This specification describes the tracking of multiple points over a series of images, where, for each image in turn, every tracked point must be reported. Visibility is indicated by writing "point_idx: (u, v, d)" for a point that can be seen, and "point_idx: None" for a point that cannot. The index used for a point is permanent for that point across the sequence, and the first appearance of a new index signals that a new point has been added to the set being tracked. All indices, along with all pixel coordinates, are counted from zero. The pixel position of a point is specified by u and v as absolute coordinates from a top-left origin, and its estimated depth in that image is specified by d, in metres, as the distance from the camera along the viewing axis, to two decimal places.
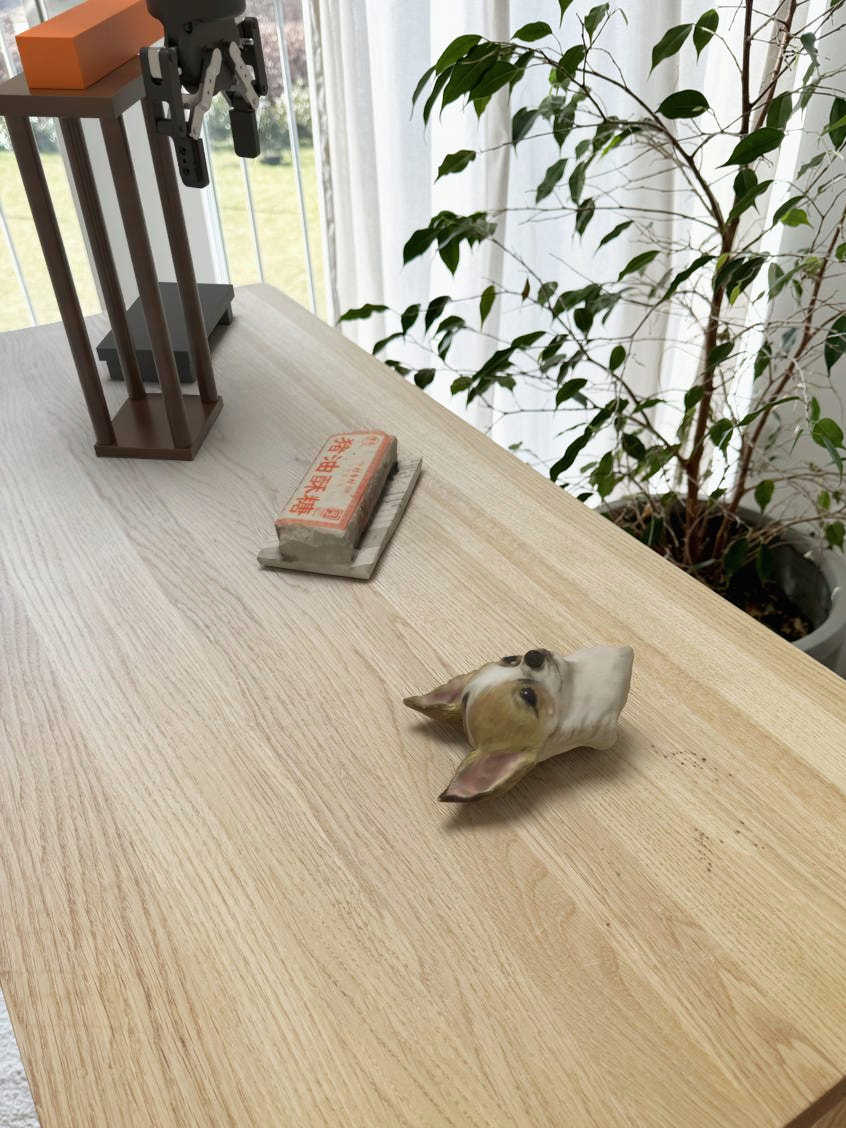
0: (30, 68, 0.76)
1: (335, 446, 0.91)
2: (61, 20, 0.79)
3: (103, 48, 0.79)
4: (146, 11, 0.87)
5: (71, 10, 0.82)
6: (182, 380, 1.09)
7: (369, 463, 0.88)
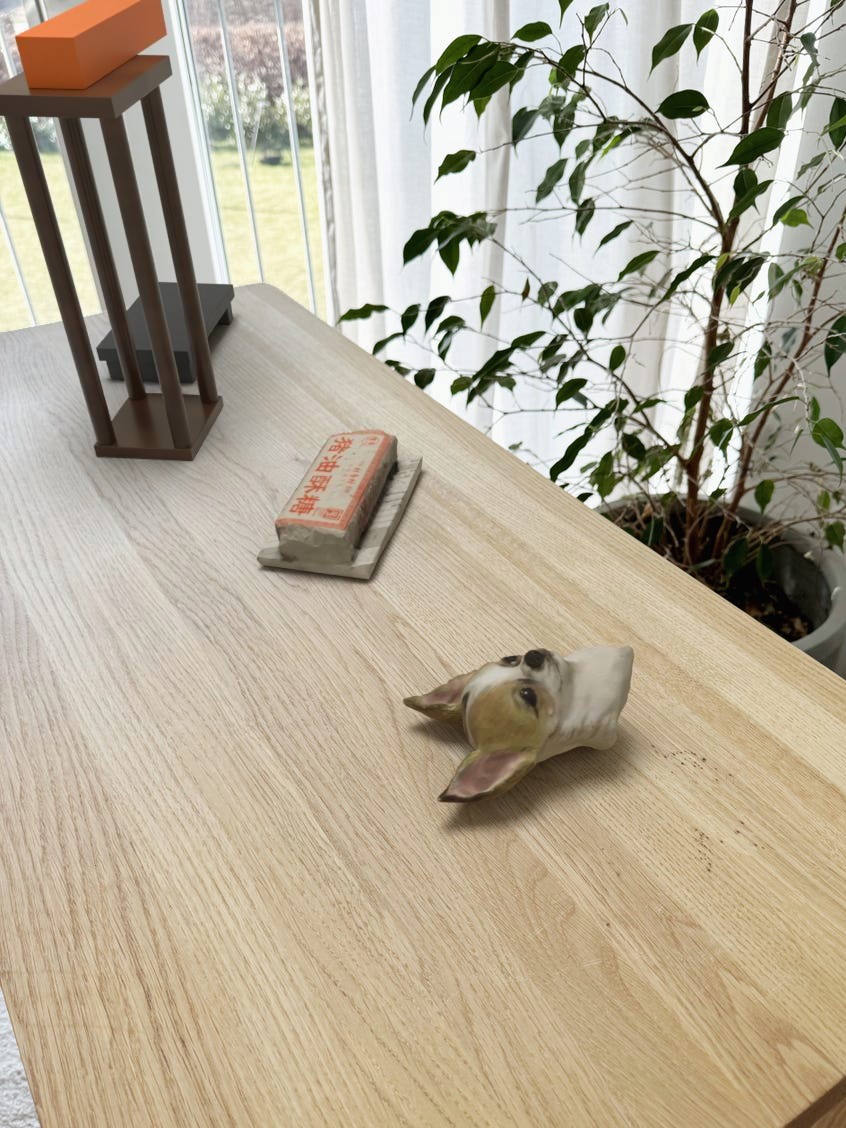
0: (30, 68, 0.76)
1: (335, 446, 0.91)
2: (61, 20, 0.79)
3: (103, 48, 0.79)
4: (146, 11, 0.87)
5: (71, 10, 0.82)
6: (182, 380, 1.09)
7: (369, 463, 0.88)
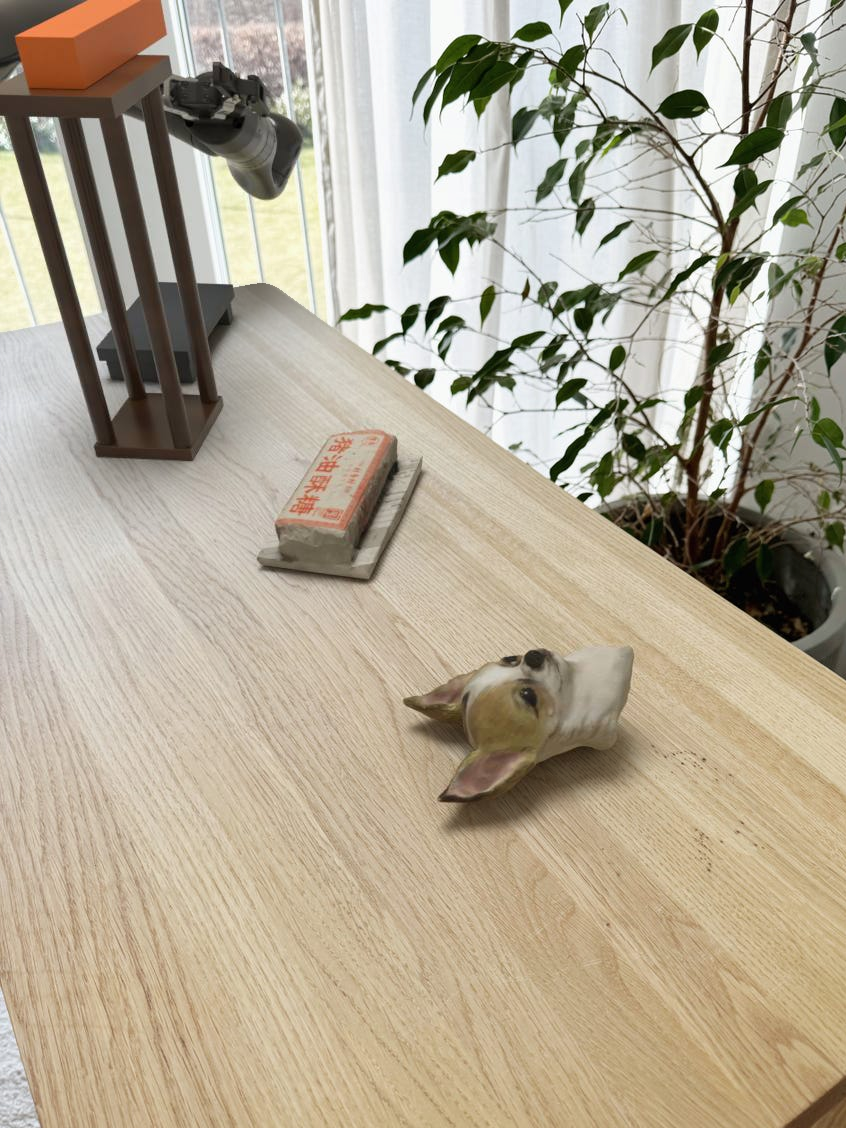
0: (30, 68, 0.76)
1: (335, 446, 0.91)
2: (61, 20, 0.79)
3: (103, 48, 0.79)
4: (146, 11, 0.87)
5: (71, 10, 0.82)
6: (182, 380, 1.09)
7: (369, 463, 0.88)
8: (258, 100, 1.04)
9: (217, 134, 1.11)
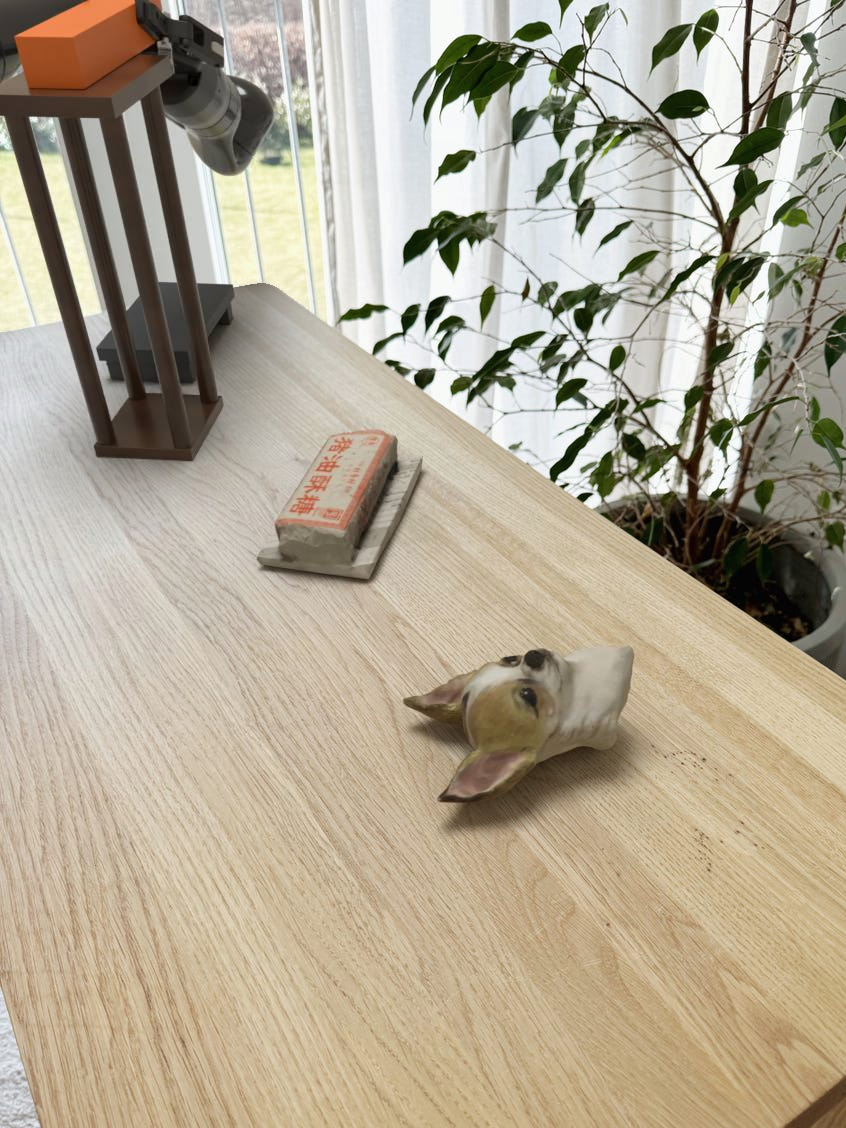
0: (30, 68, 0.76)
1: (335, 446, 0.91)
2: (61, 20, 0.79)
3: (103, 47, 0.79)
4: None
5: (71, 10, 0.82)
6: (182, 380, 1.09)
7: (369, 463, 0.88)
8: (190, 44, 0.90)
9: (170, 92, 0.98)
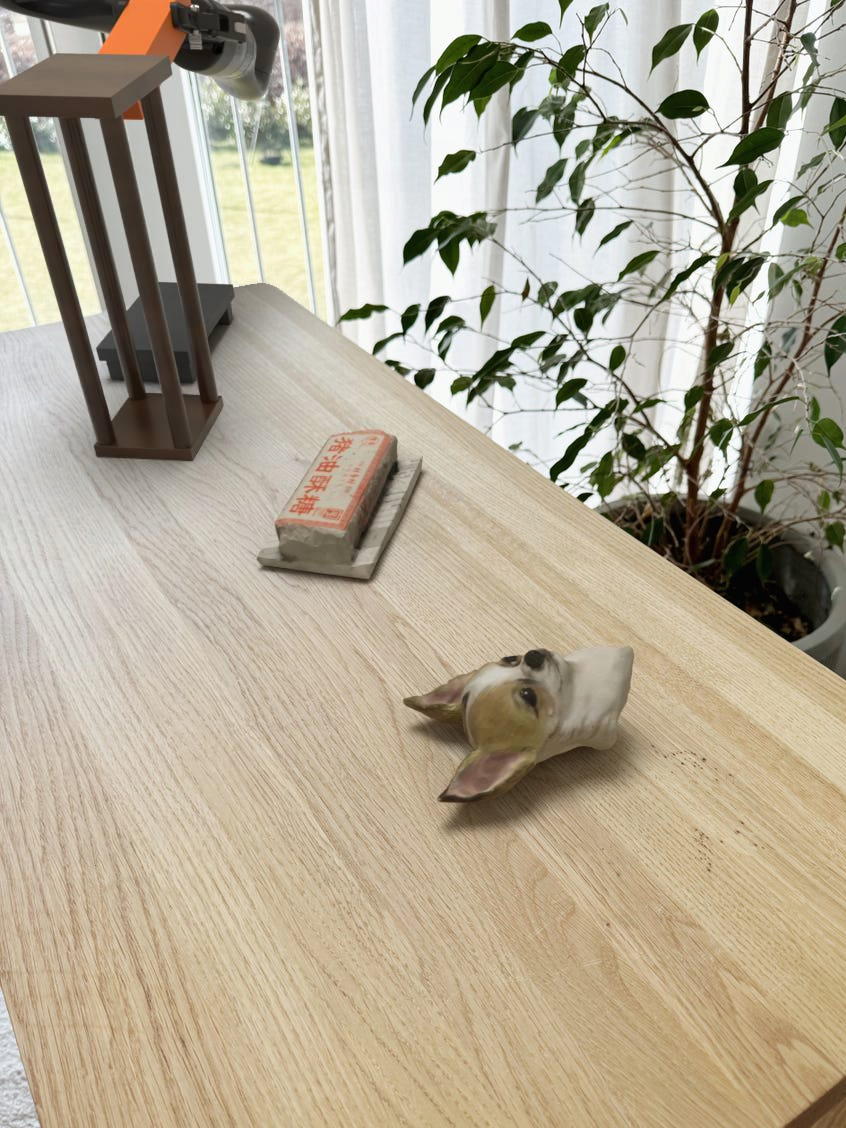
0: None
1: (335, 446, 0.91)
2: (113, 47, 0.92)
3: None
4: None
5: (117, 27, 0.94)
6: (182, 380, 1.09)
7: (369, 463, 0.88)
8: (218, 34, 1.01)
9: (197, 61, 1.09)
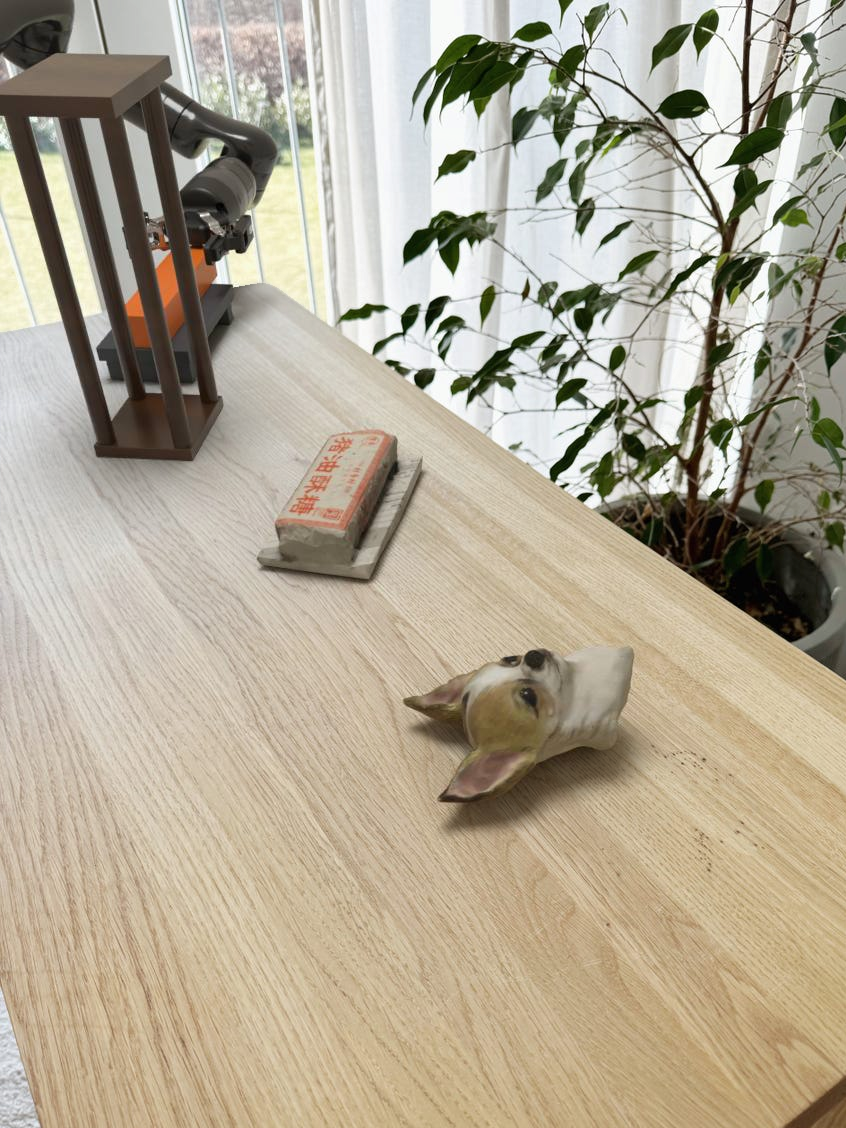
0: None
1: (335, 446, 0.91)
2: None
3: (176, 312, 1.09)
4: (204, 267, 1.17)
5: None
6: (182, 380, 1.09)
7: (369, 463, 0.88)
8: (244, 251, 1.17)
9: None
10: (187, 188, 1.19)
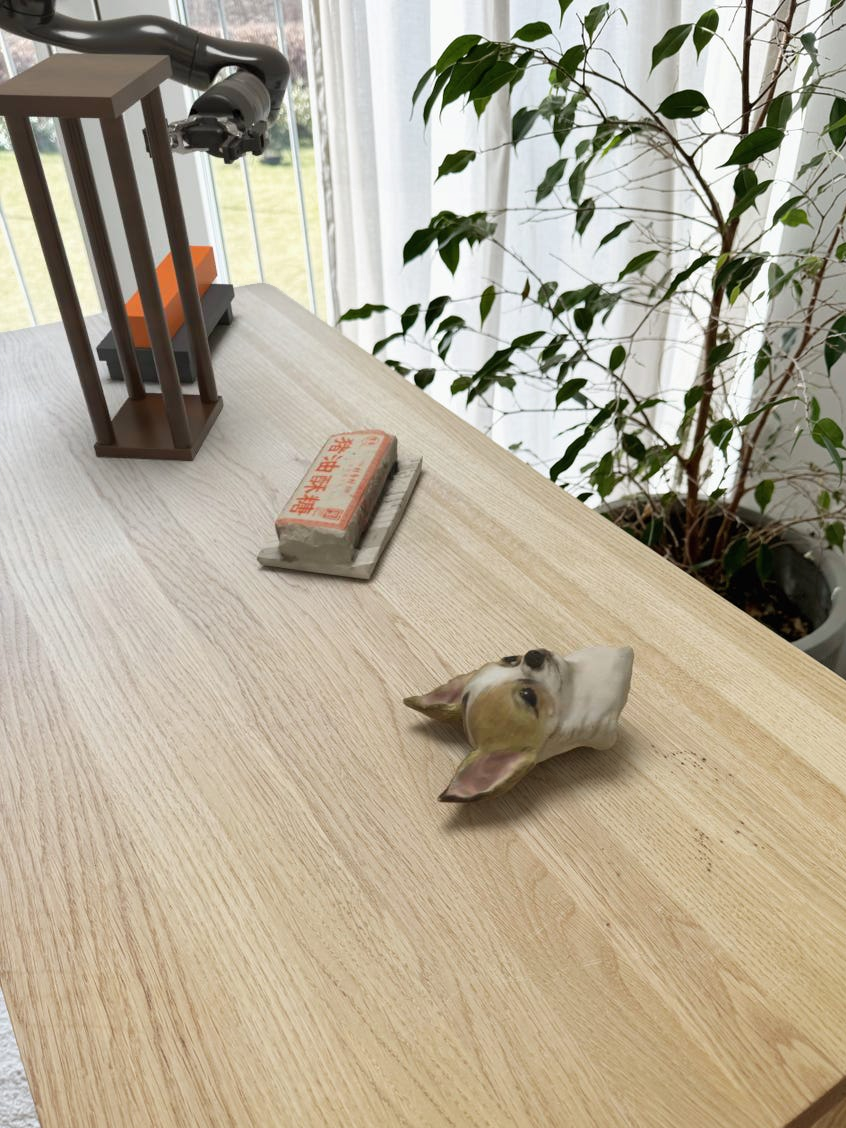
0: None
1: (335, 446, 0.91)
2: None
3: (176, 312, 1.09)
4: (204, 267, 1.17)
5: None
6: (182, 380, 1.09)
7: (369, 463, 0.88)
8: (261, 153, 1.21)
9: None
10: (205, 95, 1.23)
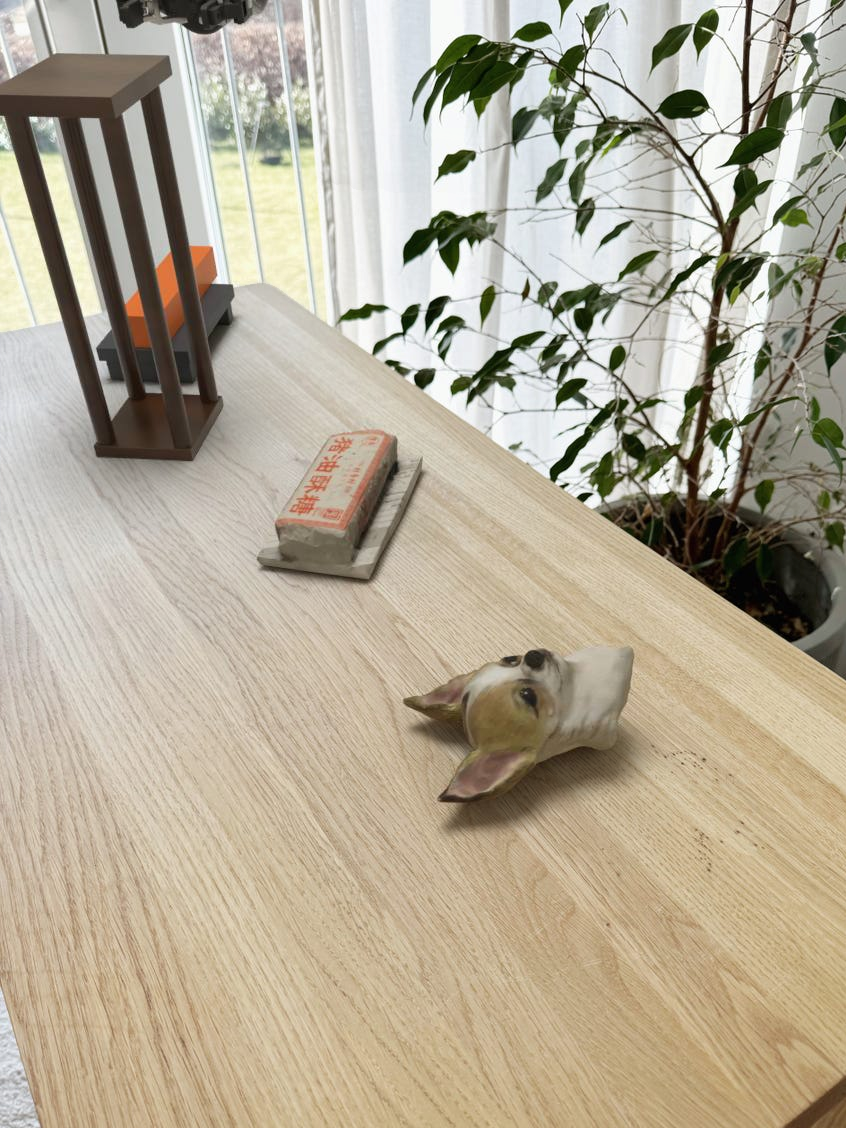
0: None
1: (335, 446, 0.91)
2: None
3: (176, 312, 1.09)
4: (204, 267, 1.17)
5: None
6: (182, 380, 1.09)
7: (369, 463, 0.88)
8: (243, 21, 1.12)
9: None
10: None
